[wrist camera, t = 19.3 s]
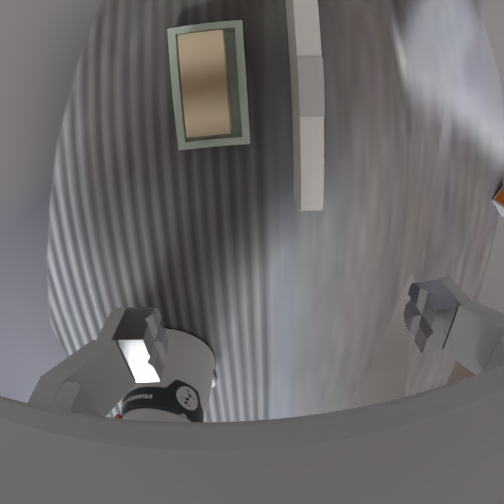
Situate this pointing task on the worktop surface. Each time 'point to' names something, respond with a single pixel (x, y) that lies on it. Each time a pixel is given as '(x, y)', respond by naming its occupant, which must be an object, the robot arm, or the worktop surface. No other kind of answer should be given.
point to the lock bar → (205, 83)
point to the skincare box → (499, 201)
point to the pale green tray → (236, 86)
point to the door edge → (306, 102)
